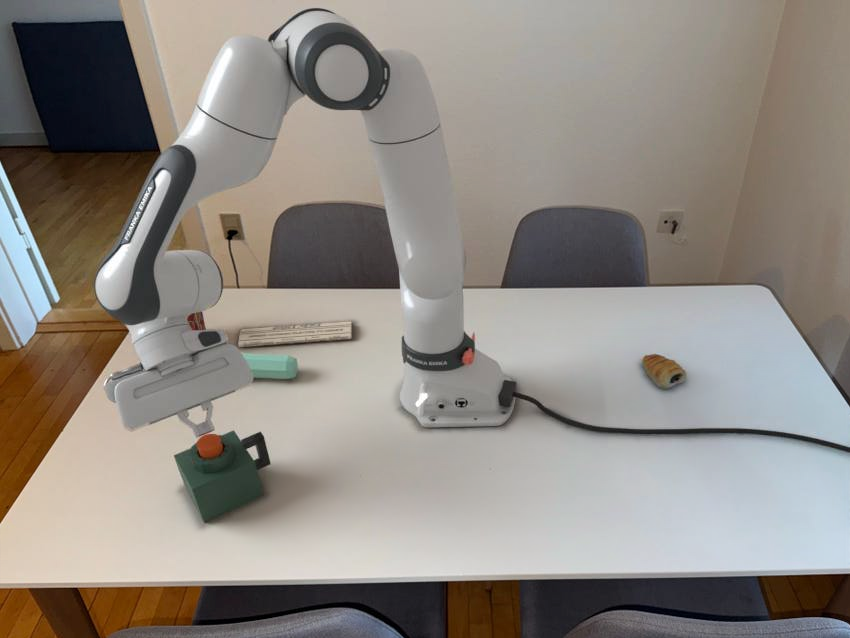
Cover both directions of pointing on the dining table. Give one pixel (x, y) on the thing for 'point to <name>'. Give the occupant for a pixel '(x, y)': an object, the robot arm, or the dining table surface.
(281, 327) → the newspaper
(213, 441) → the button
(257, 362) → the container
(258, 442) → the jug handle
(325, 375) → the dining table surface
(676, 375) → the pastry
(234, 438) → the button housing
